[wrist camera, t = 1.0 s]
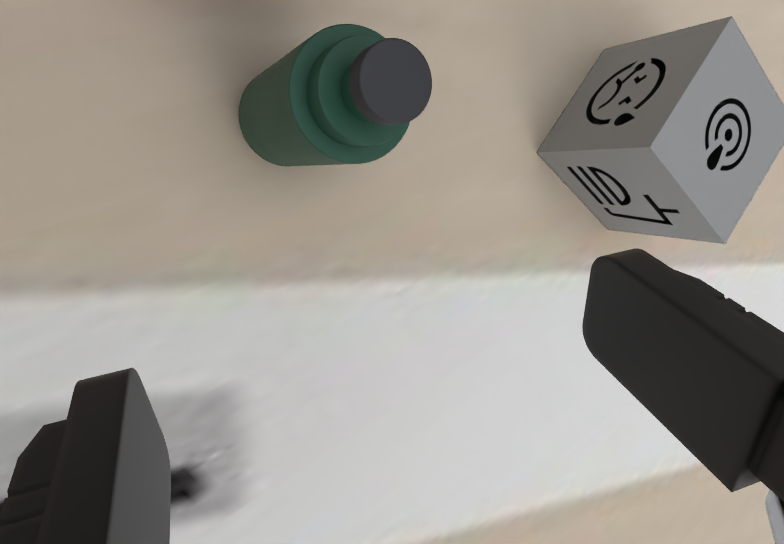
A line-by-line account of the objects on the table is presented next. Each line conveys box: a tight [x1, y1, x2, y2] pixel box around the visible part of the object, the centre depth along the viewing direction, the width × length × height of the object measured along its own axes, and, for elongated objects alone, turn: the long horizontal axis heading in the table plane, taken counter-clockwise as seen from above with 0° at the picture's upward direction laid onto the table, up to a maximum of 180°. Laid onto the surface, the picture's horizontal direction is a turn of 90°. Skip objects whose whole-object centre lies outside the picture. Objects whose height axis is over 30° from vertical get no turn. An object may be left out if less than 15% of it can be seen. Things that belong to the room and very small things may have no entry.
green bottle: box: [239, 24, 432, 166], centre depth 26 cm, size 6×6×15 cm
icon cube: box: [537, 16, 784, 244], centre depth 39 cm, size 10×10×10 cm
